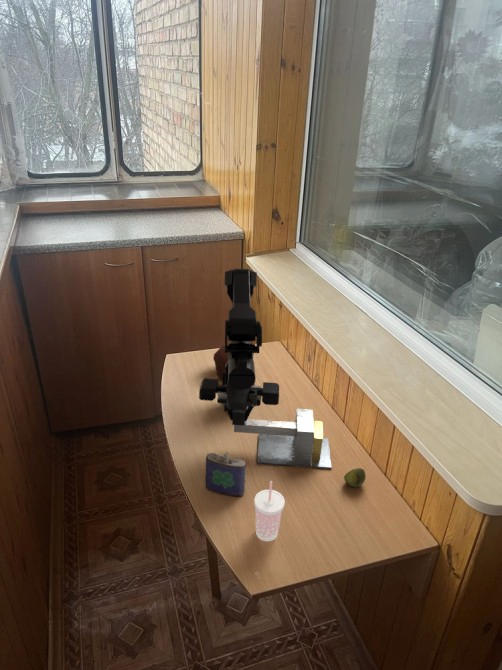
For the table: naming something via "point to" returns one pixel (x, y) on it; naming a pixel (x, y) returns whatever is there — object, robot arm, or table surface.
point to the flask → (225, 475)
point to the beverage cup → (268, 513)
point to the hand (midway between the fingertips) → (238, 420)
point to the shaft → (262, 425)
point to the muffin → (221, 361)
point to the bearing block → (294, 446)
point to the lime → (355, 477)
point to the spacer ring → (317, 440)
